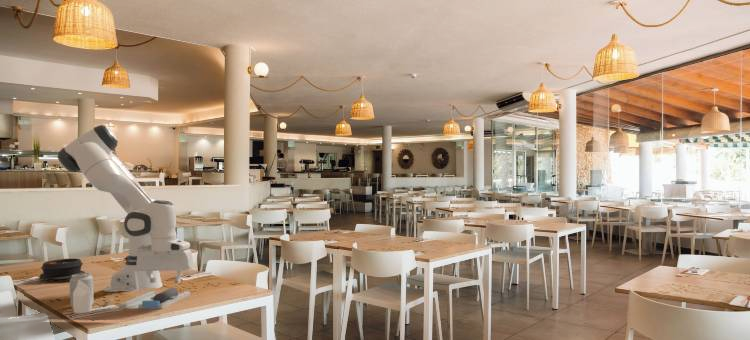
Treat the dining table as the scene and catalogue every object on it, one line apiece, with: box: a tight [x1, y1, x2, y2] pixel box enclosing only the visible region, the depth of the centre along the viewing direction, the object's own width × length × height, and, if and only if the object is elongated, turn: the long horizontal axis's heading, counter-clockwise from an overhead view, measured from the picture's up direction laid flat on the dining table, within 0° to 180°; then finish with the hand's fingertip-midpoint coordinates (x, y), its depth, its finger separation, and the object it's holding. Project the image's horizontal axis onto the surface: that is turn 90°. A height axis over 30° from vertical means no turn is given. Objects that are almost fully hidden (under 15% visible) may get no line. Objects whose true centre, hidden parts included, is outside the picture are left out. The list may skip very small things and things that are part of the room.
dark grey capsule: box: [153, 287, 179, 304], centre depth 188 cm, size 10×4×4 cm
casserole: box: [38, 258, 86, 282], centre depth 243 cm, size 25×19×8 cm
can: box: [69, 272, 95, 309], centre depth 188 cm, size 8×8×12 cm
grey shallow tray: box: [118, 290, 191, 310], centre depth 190 cm, size 16×20×3 cm
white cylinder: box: [72, 280, 93, 314], centre depth 178 cm, size 6×12×6 cm
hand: (165, 282), depth 188 cm, fingers open, 8 cm apart
